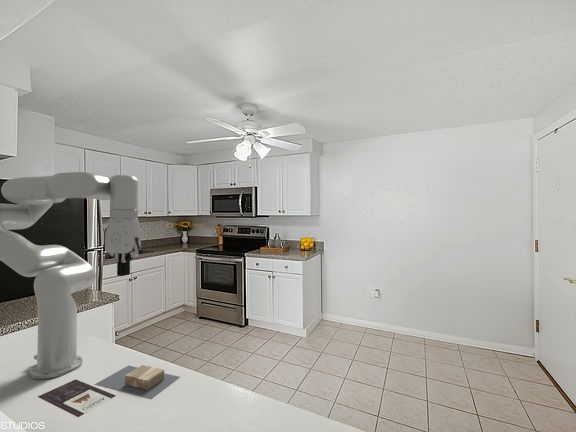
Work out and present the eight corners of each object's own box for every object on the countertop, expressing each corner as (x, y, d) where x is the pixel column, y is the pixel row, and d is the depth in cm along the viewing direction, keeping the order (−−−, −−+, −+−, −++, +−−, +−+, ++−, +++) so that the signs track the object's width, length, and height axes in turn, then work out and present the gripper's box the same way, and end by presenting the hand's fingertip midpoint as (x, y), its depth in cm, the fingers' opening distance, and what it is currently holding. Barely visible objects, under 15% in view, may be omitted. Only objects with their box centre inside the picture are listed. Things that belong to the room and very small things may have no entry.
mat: (94, 386, 80) (94, 384, 80) (128, 367, 90) (128, 365, 90) (151, 401, 73) (151, 399, 73) (180, 378, 84) (180, 376, 84)
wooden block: (125, 375, 79) (147, 380, 77) (142, 364, 85) (164, 369, 82) (124, 385, 79) (147, 390, 77) (142, 374, 85) (164, 379, 82)
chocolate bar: (75, 379, 82) (116, 395, 75) (75, 382, 82) (116, 399, 75) (37, 396, 74) (78, 416, 67) (37, 400, 74) (78, 421, 67)
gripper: (95, 215, 88) (94, 275, 88) (132, 215, 83) (131, 279, 83) (116, 216, 95) (116, 271, 95) (152, 215, 90) (152, 274, 90)
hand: (123, 275), depth 89 cm, fingers closed
